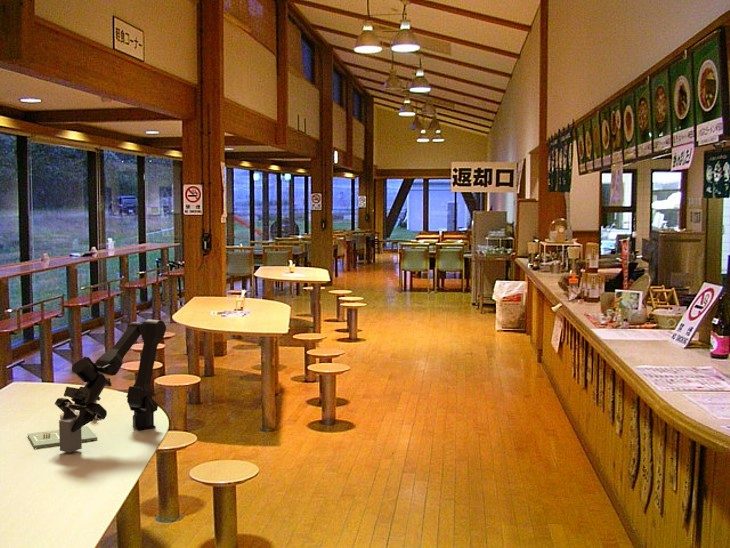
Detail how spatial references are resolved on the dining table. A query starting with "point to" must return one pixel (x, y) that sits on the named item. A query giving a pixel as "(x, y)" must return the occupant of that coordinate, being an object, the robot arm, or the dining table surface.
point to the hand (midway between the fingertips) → (66, 430)
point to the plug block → (69, 435)
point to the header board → (57, 437)
